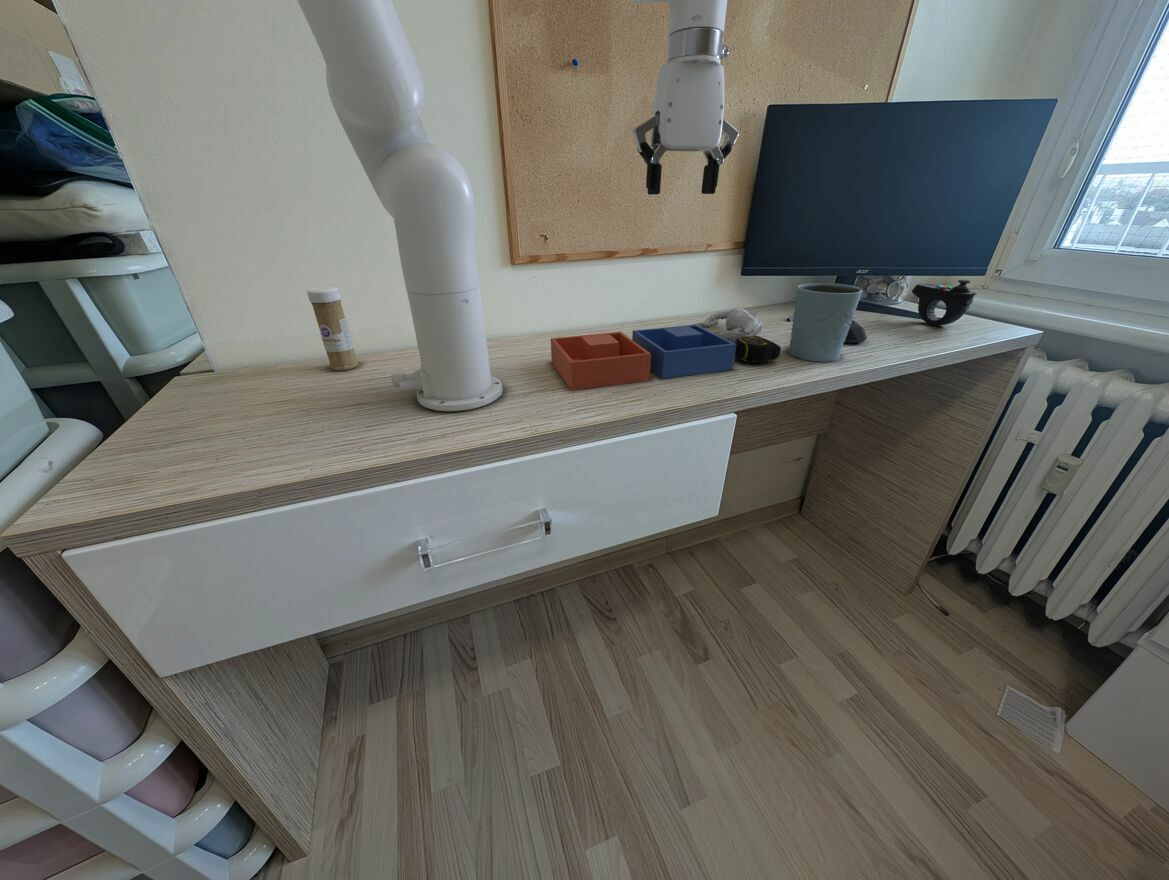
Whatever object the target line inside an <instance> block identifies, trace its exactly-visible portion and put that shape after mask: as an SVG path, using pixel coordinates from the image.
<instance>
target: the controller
mask: <svg viewBox="0 0 1169 880" xmlns="http://www.w3.org/2000/svg"><path fill="white" fill-rule="evenodd" d="M957 283H959V284H958V285H956V286H951V285H950V286H949V285H947V286H944V285H942V284H939V285H936V284H929V283H918V284H916V285H915V286H914V287H913V288H912V290H911V293H912V294H913V295H914V296H916V298H918V303H917V304H918V305H917V312H918V315H919V317H920V318H921V320H922V321H923V322H924V323H926V324H928V325H931V326H937V327H938V326H946V325H950V324H953V323H955V322H957V321H958V320H959V319H961V318H962V317H963V316H964V314H965V313H966V312H967V311H968V310H969V309H970V308H971V307H970V306H971V304H972V303H973V301H974V297H975V296H976V295H977V294H978V293H977V292H975V291H971V289H970V288H969V287H968V285H967V284H970V283H971V280H969V279H958V280H957ZM940 302H943V303H944V305H945V308H946V309H945V312H944V314H943V316H942V317H941V318H939V317H938V316H937V315H936V313H935V309H936V307H937V305H938V304H939V303H940Z"/></svg>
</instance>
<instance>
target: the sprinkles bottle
mask: <svg viewBox="0 0 1169 880" xmlns="http://www.w3.org/2000/svg"><path fill="white" fill-rule="evenodd" d="M306 294H307V297H308V300H309V302H310V305H311V306H312V309H313V313H314V316H315V319H316V322H317V325H318V329H319V333H320V337H321V340H322V343H323V347H324V350H325V352H326V355H327V358H328V362H329V367H330V369H331V370H334V371H349V370H352V369H354V368H356V367H358V365H359V361H358V359H357V356H356V353H355V349H354V344H353V340H352V336H351V333H350V330H349V325H348V322H347V318H346V316H345V313H344V309H343V305H342V300H341V299H342V297H341V293H340V291H339V288H338V287H337V286H329V285H328V286H326V285H325V286H316V287H311V288H309V289H307V290H306Z"/></svg>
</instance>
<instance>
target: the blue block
mask: <svg viewBox="0 0 1169 880" xmlns="http://www.w3.org/2000/svg"><path fill="white" fill-rule="evenodd" d="M702 337H703V334H702V333H700V332H698V331H696V330H694V329H692V328H691V327H678V328H668V329H664V332H663V344H662V348H663V349H664V350H666V351H670V350H679V349H688V348H697V347H701V345H702Z"/></svg>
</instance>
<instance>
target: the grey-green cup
mask: <svg viewBox="0 0 1169 880" xmlns="http://www.w3.org/2000/svg"><path fill="white" fill-rule="evenodd" d="M862 294H863V289H862V288H861V287H859V286H857V285H856V286H855V285H850V284H845V283H833V282H831V283H830V282H810V283H801V284H798V285H797V287H796V292H795V303H794V311H793V317H792V318H793V319H792V324H791V325H792V326H791V333H790V335H791V336H790V337H791V338H790V341H789V346H788V347H789V348H788V353H789V354H790V355H791V356H793V357H795V358H797V359H801V360H804V361H809V362H823V363H824V362H825V363H827V362H828V363H829V362H834V361H837V360H838V359H839V358H840V356H841V353H842V351H843V348H844V343H845V342H844V341H845V339H846V336H847V333H848V330H849V327H850V325H851V322H852V320H853V319H854V315H855V312H856V309H857V308H858V305H859V301H860V299H861V297H862Z"/></svg>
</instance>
